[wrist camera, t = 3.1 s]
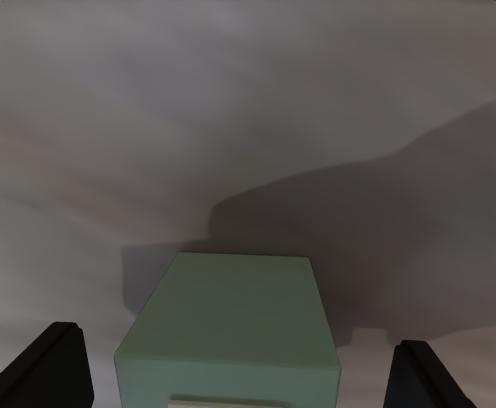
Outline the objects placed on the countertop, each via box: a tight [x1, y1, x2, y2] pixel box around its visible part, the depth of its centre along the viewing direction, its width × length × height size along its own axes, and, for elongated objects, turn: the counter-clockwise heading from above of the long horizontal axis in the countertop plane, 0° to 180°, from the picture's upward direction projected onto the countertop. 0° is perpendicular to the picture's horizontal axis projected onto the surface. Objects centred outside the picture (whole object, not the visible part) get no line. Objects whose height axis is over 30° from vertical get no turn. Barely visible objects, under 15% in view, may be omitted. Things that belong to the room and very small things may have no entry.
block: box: [114, 252, 341, 408], centre depth 9 cm, size 5×5×5 cm
